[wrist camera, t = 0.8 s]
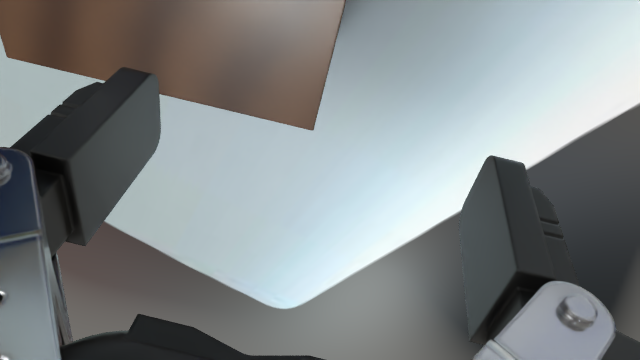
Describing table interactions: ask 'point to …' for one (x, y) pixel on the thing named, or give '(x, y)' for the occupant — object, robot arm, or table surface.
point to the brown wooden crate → (189, 47)
